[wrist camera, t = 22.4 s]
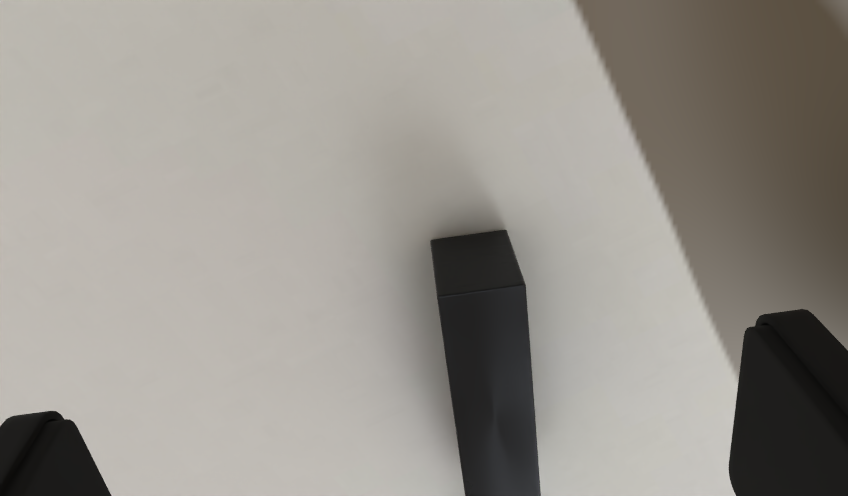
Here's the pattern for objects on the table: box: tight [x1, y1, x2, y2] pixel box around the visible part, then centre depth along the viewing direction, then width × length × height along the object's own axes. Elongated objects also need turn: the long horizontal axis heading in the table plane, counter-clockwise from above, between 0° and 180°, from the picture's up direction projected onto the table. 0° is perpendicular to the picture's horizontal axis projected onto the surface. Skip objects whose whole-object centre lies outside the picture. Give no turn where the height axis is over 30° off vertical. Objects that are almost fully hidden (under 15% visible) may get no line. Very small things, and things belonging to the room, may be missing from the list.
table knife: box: [431, 230, 541, 496], centre depth 25 cm, size 19×2×3 cm, turn 7°
